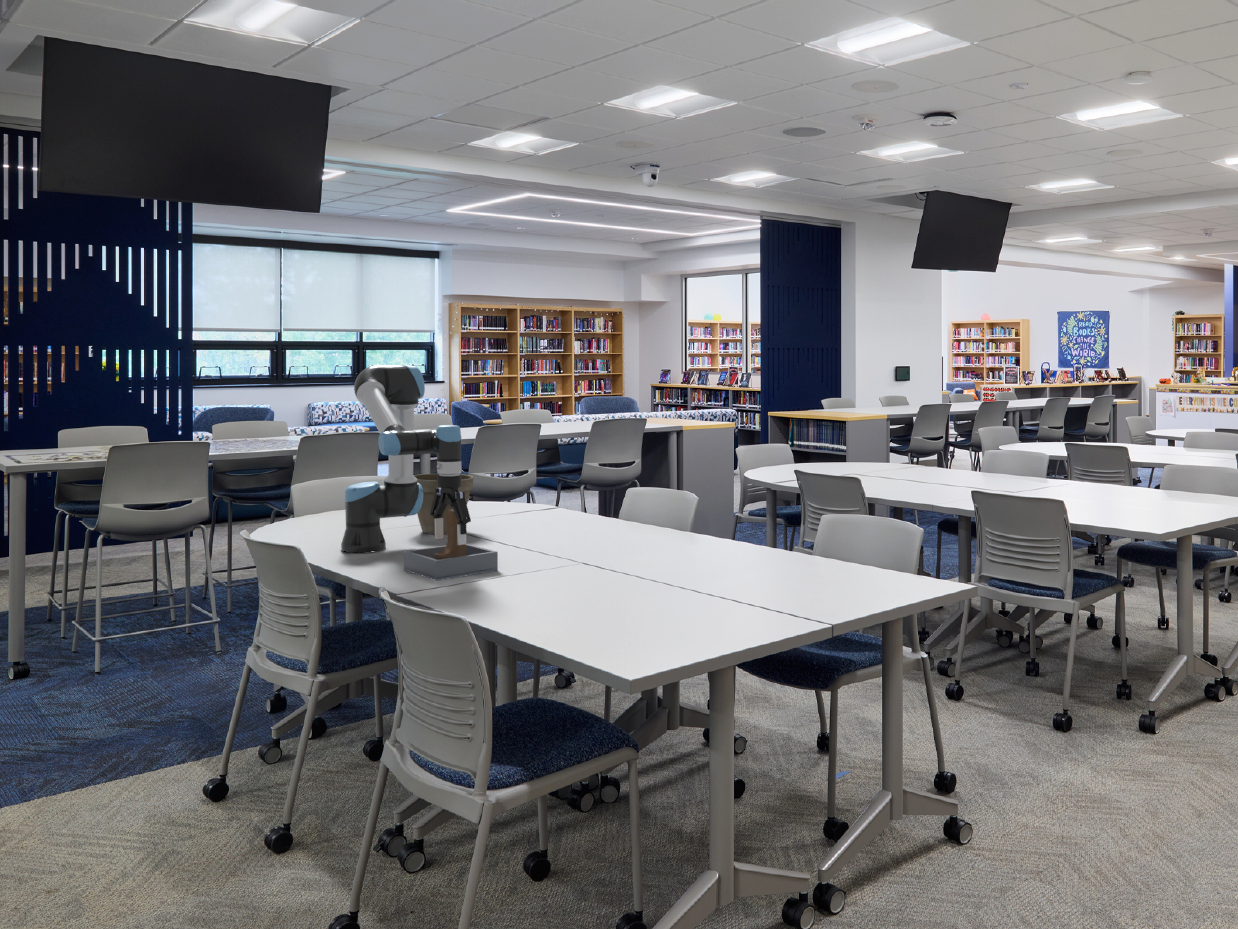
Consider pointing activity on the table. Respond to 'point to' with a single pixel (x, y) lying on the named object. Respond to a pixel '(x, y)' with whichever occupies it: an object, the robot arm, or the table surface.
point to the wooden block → (451, 539)
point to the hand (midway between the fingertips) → (450, 541)
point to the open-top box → (450, 562)
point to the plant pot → (428, 491)
